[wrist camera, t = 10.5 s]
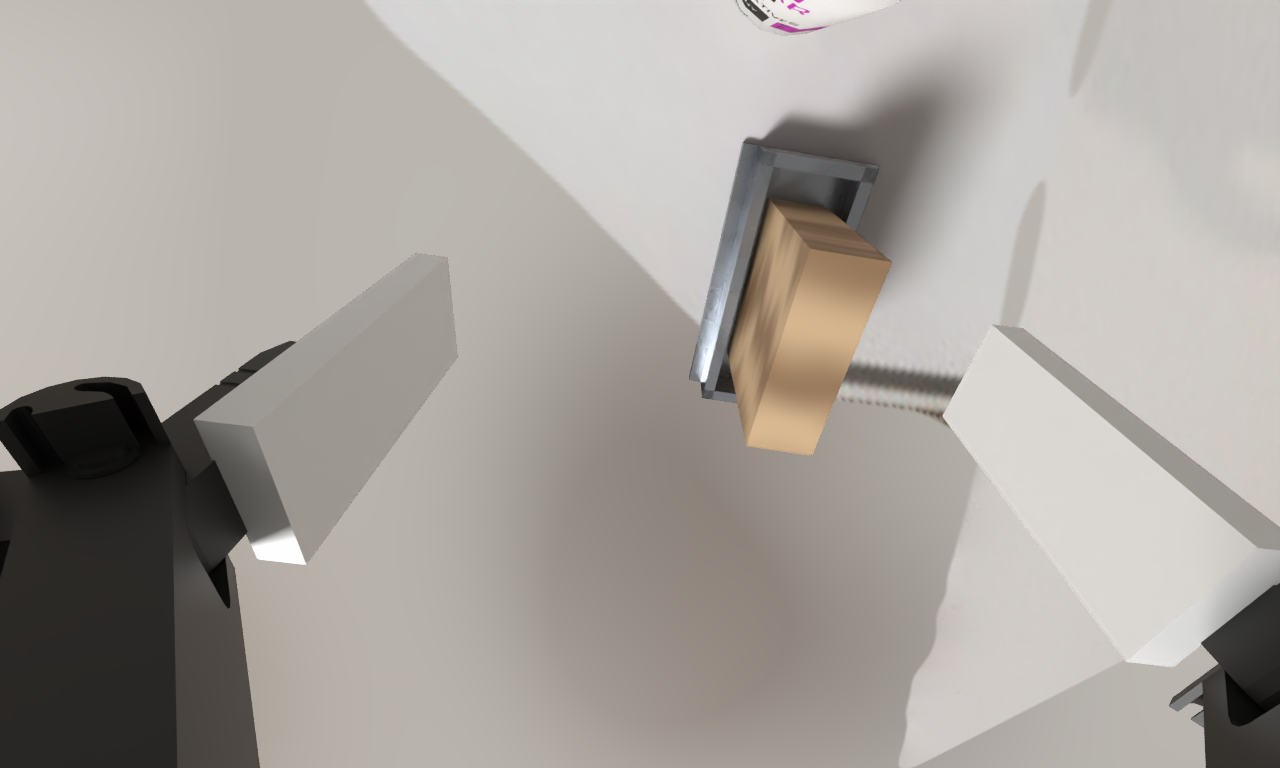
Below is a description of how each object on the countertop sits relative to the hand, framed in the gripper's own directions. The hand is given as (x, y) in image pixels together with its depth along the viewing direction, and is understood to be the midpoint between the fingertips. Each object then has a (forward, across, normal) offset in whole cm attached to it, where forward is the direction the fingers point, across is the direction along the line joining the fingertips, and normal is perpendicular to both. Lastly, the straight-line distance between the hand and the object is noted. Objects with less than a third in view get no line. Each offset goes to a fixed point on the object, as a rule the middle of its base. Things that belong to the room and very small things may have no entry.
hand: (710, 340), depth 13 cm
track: (+25, +8, -8) cm, 27 cm away
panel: (+25, +8, -8) cm, 27 cm away
